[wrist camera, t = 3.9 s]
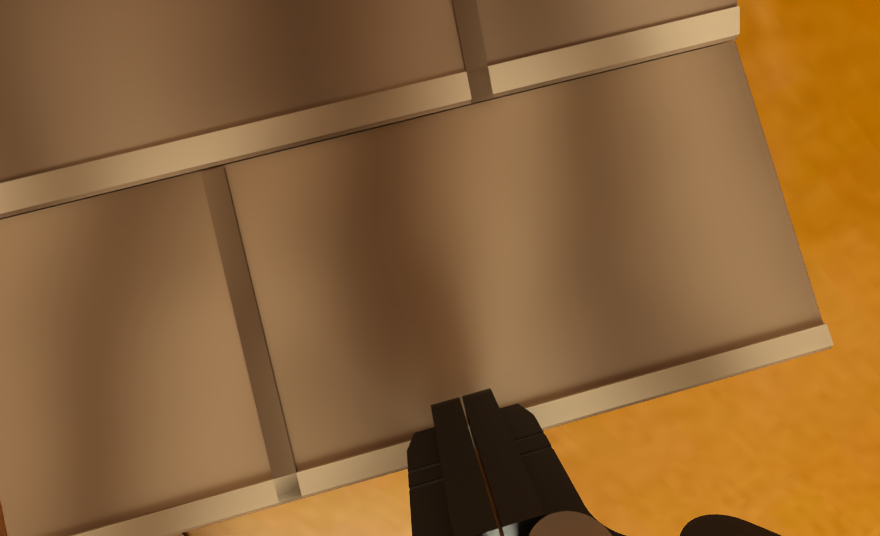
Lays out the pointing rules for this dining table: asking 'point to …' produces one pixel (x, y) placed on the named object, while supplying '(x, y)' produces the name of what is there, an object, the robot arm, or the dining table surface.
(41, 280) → the board
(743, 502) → the dining table surface
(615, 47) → the laid plank
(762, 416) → the dining table surface
